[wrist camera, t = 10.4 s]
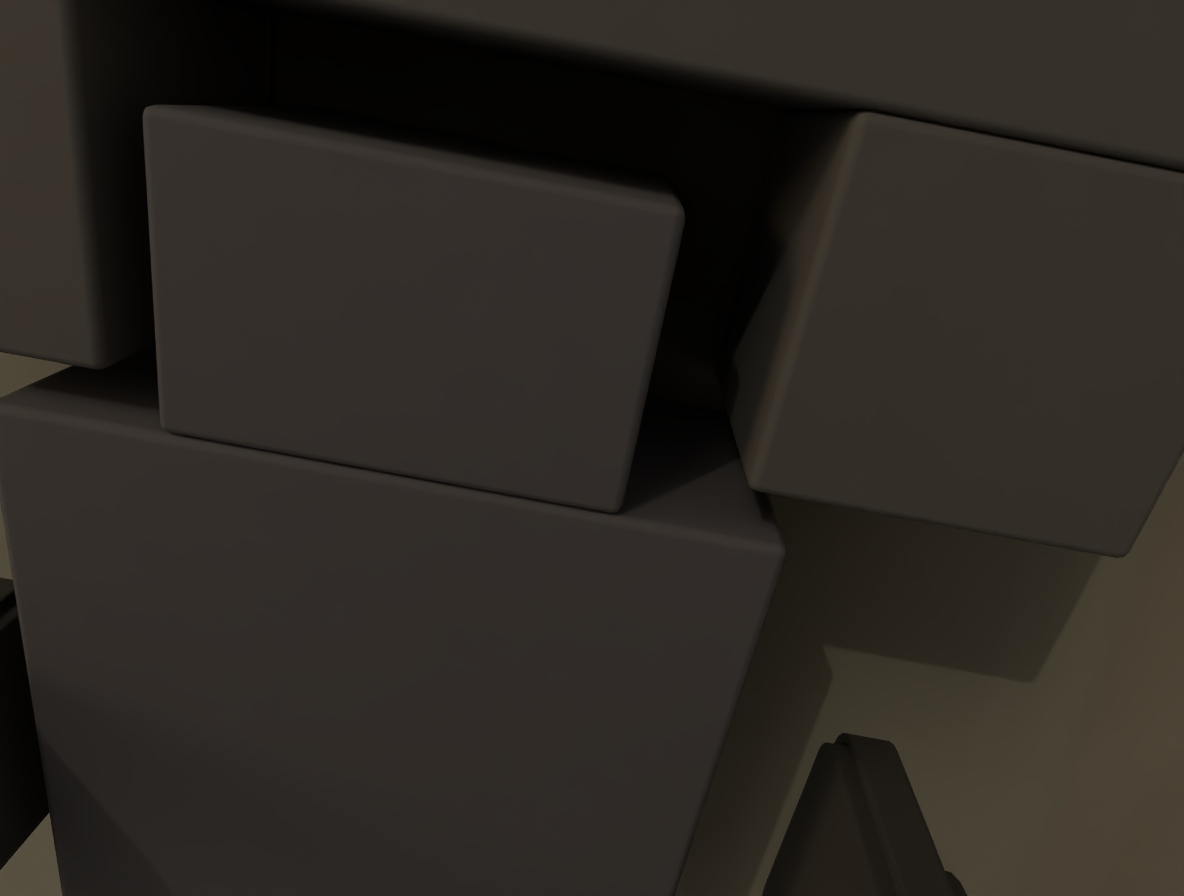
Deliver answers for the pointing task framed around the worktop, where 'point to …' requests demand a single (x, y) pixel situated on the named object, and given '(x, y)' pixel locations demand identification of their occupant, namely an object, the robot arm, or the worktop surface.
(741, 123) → the worktop surface
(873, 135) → the notch pad
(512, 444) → the tongue pad
